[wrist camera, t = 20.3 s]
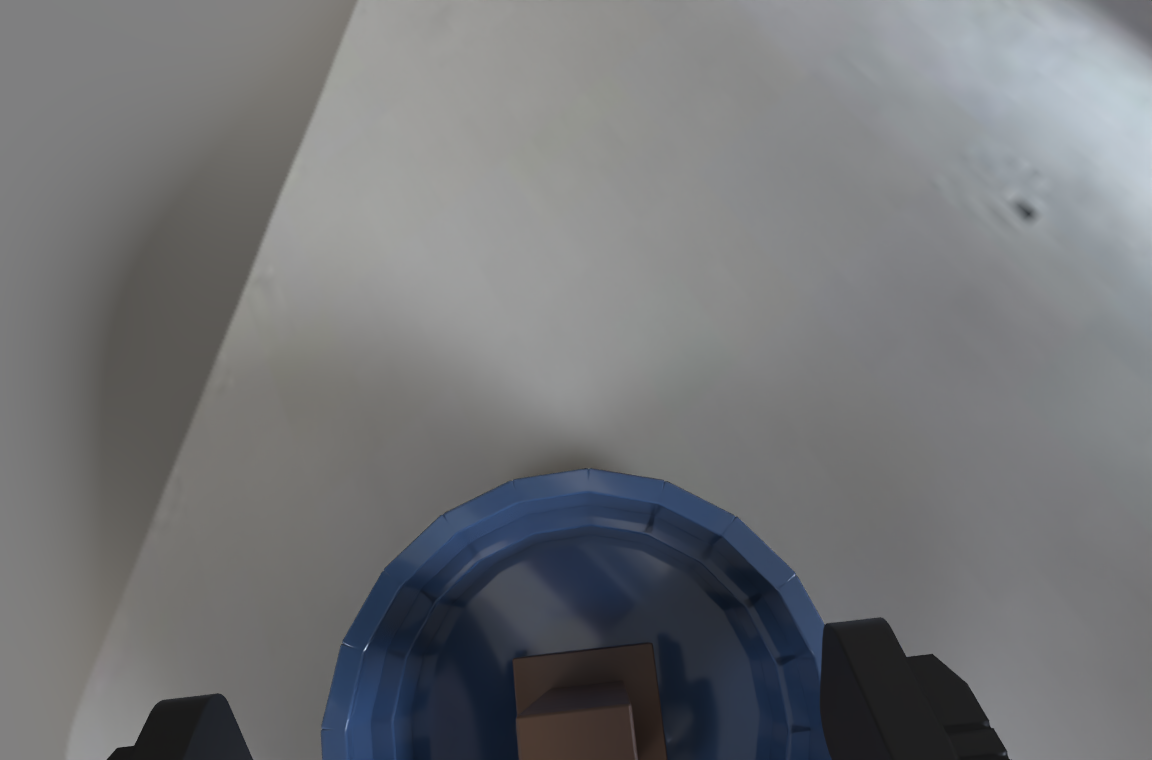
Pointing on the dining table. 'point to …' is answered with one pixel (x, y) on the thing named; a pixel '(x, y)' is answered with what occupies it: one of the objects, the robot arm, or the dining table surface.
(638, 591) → the bowl
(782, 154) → the dining table surface
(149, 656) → the dining table surface
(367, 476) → the dining table surface
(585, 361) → the dining table surface
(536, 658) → the square wall hook
